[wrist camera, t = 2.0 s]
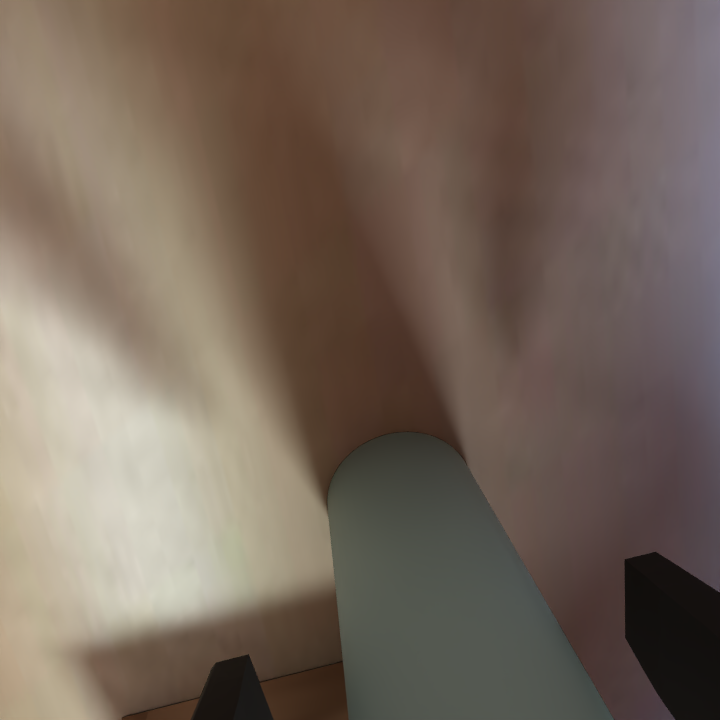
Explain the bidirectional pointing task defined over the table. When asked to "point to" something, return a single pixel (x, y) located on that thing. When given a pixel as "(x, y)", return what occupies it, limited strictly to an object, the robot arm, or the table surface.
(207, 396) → the table surface
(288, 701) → the box
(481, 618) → the peg
